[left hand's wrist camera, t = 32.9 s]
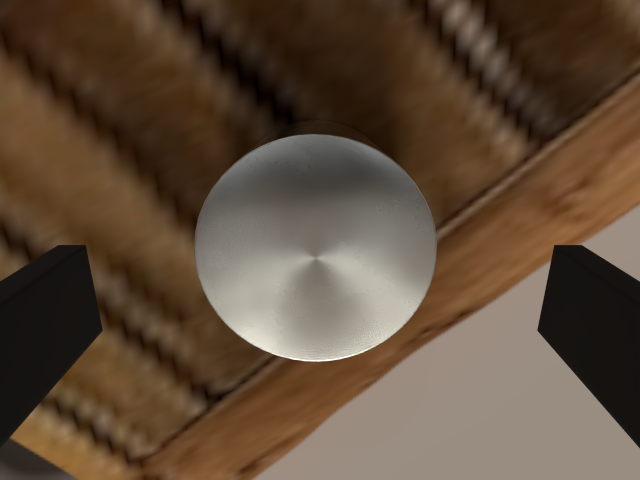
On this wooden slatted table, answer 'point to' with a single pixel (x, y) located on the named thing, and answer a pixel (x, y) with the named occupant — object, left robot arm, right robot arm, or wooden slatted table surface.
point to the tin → (315, 243)
